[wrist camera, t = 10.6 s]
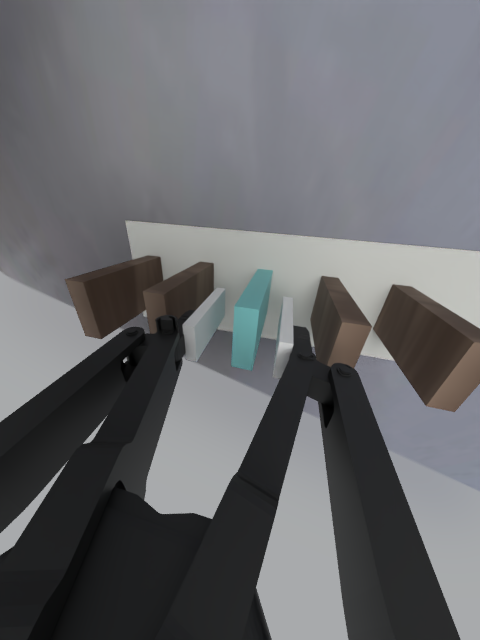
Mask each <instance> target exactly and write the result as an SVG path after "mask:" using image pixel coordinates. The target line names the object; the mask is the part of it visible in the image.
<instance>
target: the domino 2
mask: <svg viewBox="0 0 480 640" xmlns="http://www.w3.org/2000/svg"><path fill="white" fill-rule="evenodd" d="M213 291H214V263H209V262H201V261H200V262H198V263H196V264H194V265H192V266H190V267H189V268H187V269H185V270H183V271H181V272H179V273H177V274H175V275H173V276H171V277H169V278H167V279H166V280H164V281H162V282H160V283H158V284H156V285H154V286H152V287H150V288H148V289H146V290H144V291H143V296H144V301H145V307H146V312H147V318H148V323H149V329H150V334H155V333H156V332H157V327H156V322H155V319H156V318H158V317H160V316H163V315H173V316H176V317H177V318H178V319H179V318H180V317H181V316H182V315H183V314H184V313H185V312H187V311H189V310H197V309H198V307H199V306H200V305H201V304H202V303H203V302H204V301H205V300H206V299H207V298H208V297H209V296H210V295H211V293H212V292H213Z"/></svg>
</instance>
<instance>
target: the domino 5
mask: <svg viewBox="0 0 480 640" xmlns="http://www.w3.org/2000/svg"><path fill="white" fill-rule="evenodd" d="M373 330H374V331H375V333H376V334H377V336H378V337H379V339H380V340H381V342H382V343H383V345H384V346H385V347H386V349H387V350H388V352H389V353H390V355H391V356H392V358H393V359H394V360H395V362H396V363H397V365H398V366H399V368H400V369H401V371H402V372H403V373H404V375H405V376H406V378H407V379H408V381H409V382H410V384H411V385H412V387H413V388H414V389H415V391H416V392H417V394H418V395H419V397H420V398H421V400H422V401H423V402H424V404H425V405H426V406H428V407H433V408H438V409H443V410H448V411H452V412H455V411H456V410H457V409H458V408H459V406H460V405H461V404H462V403H463V402H464V401H465V400H466V398H467V397H468V396H469V395H470V394H471V393H472V392H473V390H474V389H475V388H476V387H477V386H478V385H479V384H480V328H478V327H476V326H475V325H473V324H472V323H470V322H468V321H467V320H465V319H463V318H462V317H460V316H459V315H457V314H455V313H454V312H452V311H450V310H449V309H447V308H446V307H444V306H442V305H441V304H439V303H438V302H436V301H434V300H433V299H431V298H429V297H428V296H426V295H425V294H423V293H421V292H420V291H418V290H416V289H415V288H413V287H412V286H404V285H396V284H392V287H391V289H390V291H389V294H388V296H387V298H386V300H385V303H384V305H383V307H382V309H381V312H380V314H379V316H378V318H377V321H376V323H375V325H374V327H373Z"/></svg>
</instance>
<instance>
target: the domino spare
mask: <svg viewBox="0 0 480 640" xmlns="http://www.w3.org/2000/svg"><path fill="white" fill-rule="evenodd" d="M272 274H273V270H265V269H257V271H256V272H255V274H254V276H253V277H252V279H251V280H250V282H249V284H248V285H247V287H246V288H245V290H244V292H243V293H242V295H241V296H240V298H239V300H238V301H237V303H236V304H235V306H234V323H233V342H232V361H231V366H232V367H237V368H241V369H246V370H251V371H252V369H253V365H254V361H255V358H256V354H257V350H258V346H259V342H260V338H261V334H262V330H263V327H264V323H265V319H266V315H267V309H268V302H269V295H270V288H271V281H272Z"/></svg>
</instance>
